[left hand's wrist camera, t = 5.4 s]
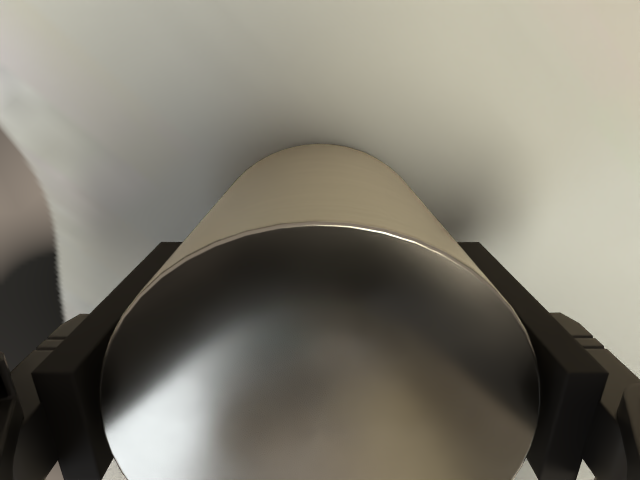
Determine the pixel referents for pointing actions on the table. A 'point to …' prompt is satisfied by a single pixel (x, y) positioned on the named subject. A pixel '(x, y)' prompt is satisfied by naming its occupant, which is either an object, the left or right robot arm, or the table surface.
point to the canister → (319, 340)
